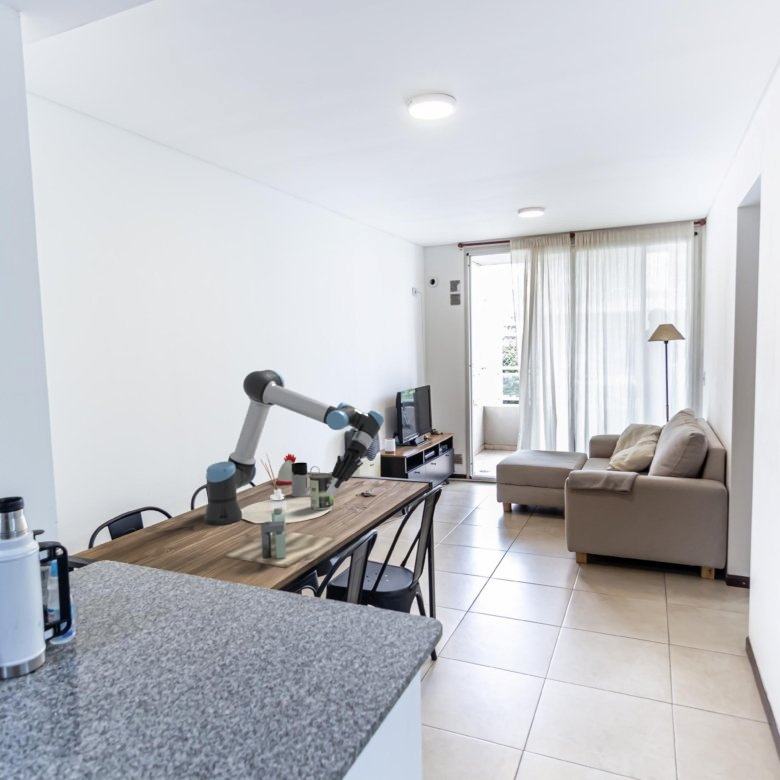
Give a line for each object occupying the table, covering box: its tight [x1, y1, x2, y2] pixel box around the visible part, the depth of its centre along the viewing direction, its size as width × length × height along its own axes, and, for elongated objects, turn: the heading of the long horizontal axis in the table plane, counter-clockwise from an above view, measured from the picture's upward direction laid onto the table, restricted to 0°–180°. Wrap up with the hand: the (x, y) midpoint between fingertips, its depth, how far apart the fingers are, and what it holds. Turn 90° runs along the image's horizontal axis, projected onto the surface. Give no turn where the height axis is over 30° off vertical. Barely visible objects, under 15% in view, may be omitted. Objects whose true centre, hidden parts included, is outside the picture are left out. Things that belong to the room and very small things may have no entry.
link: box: [271, 511, 287, 558], centre depth 205 cm, size 28×5×8 cm, turn 12°
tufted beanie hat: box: [277, 453, 298, 486], centre depth 308 cm, size 14×14×15 cm
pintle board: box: [225, 507, 336, 568], centre depth 203 cm, size 26×28×11 cm
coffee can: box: [308, 472, 335, 511], centre depth 256 cm, size 10×10×14 cm
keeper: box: [260, 521, 285, 559], centre depth 193 cm, size 8×5×12 cm, turn 98°
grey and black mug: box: [291, 461, 321, 498], centre depth 279 cm, size 9×14×15 cm, turn 87°
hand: (329, 494), depth 221 cm, fingers closed
